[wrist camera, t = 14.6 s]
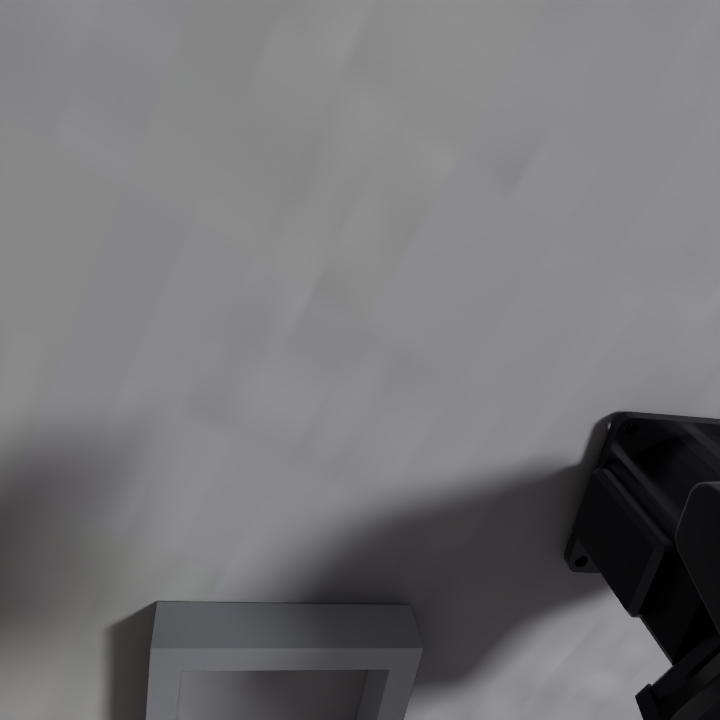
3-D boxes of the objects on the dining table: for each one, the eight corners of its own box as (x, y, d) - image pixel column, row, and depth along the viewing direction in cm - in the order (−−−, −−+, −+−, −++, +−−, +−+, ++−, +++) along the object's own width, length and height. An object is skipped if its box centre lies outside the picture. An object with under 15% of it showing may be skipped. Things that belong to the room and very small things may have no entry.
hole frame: (410, 604, 25) (423, 648, 24) (367, 767, 29) (376, 816, 27) (157, 601, 23) (150, 648, 22) (145, 776, 27) (138, 829, 25)
